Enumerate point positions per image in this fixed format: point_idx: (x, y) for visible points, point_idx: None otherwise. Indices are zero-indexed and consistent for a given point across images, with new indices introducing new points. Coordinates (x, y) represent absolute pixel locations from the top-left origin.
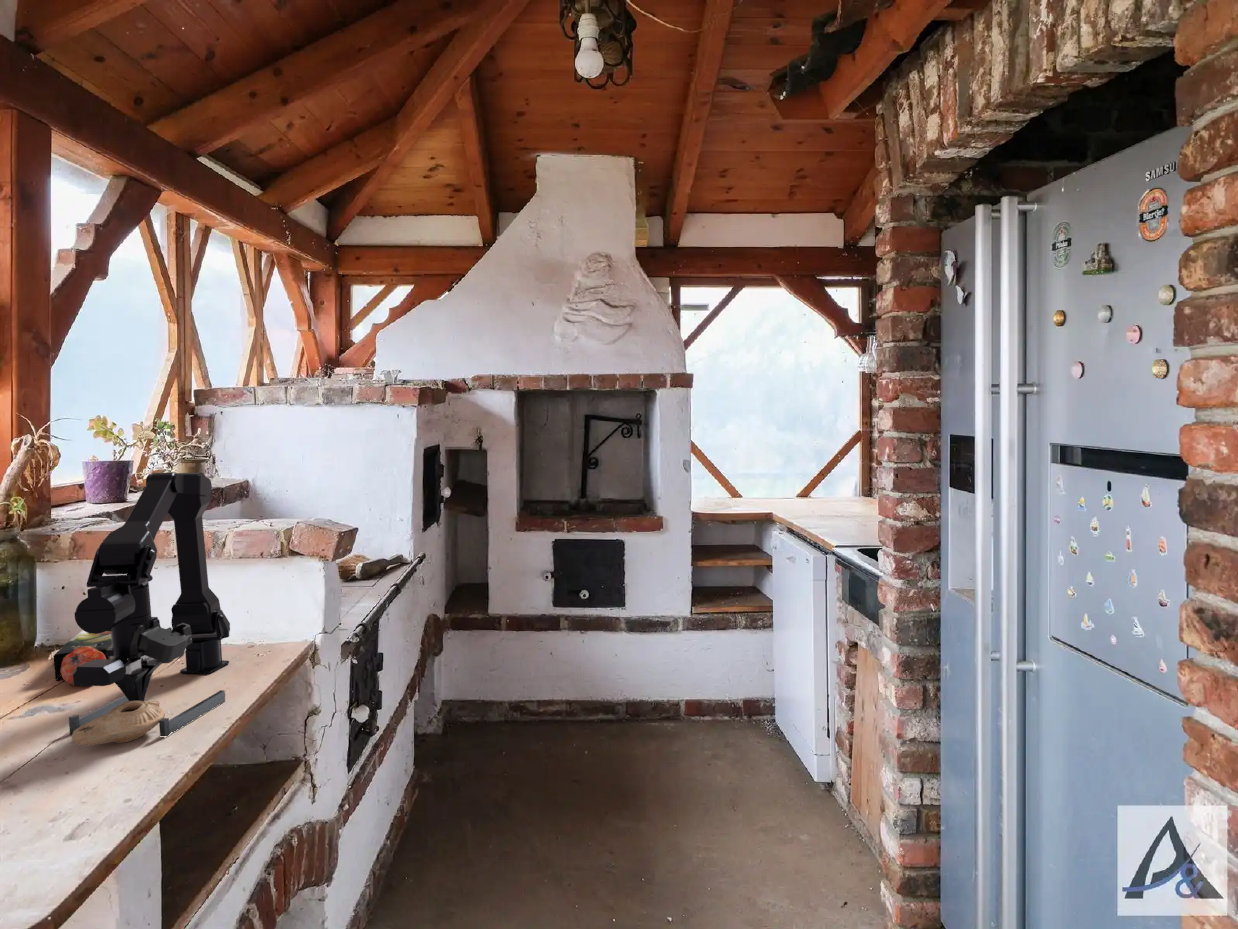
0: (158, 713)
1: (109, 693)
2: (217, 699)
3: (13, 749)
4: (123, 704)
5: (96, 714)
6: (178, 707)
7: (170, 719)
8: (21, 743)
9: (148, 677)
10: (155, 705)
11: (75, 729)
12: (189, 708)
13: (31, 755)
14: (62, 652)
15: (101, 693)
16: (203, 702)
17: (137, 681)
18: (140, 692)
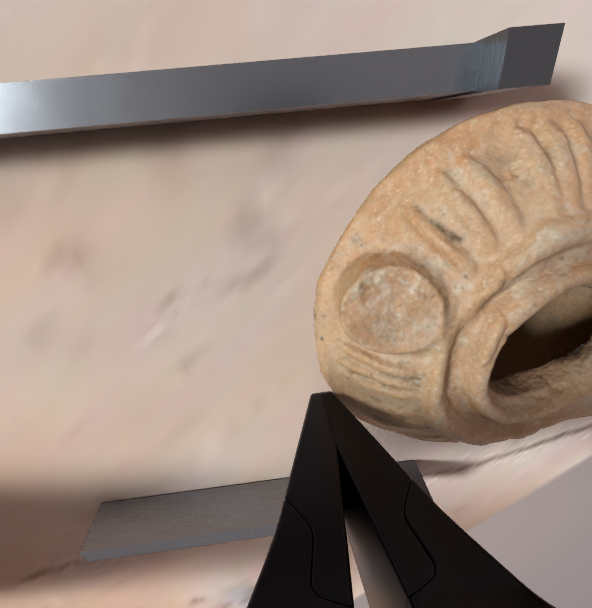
0: (492, 154)
1: (118, 591)
2: None
3: (502, 505)
4: (476, 432)
5: None
6: (93, 334)
7: (412, 92)
8: (465, 517)
9: (303, 590)
10: (416, 261)
11: (418, 475)
12: (190, 114)
13: (554, 447)
14: None
15: (129, 602)
16: (41, 87)
17: (479, 583)
18: (368, 463)
